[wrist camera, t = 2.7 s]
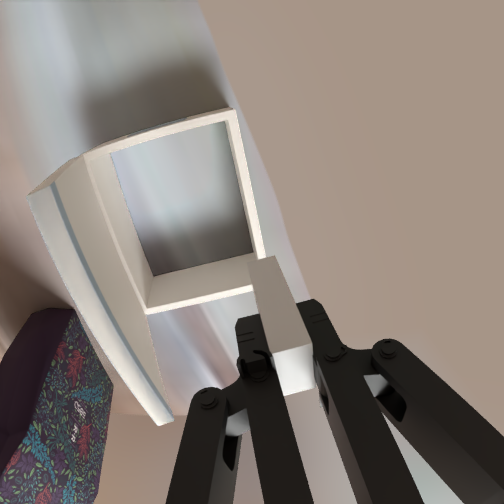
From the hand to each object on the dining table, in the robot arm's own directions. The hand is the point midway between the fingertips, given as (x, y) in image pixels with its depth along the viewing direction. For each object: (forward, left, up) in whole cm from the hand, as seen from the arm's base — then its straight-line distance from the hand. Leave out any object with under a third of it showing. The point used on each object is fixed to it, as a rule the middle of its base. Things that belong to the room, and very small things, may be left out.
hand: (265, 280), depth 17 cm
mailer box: (+3, -5, -17) cm, 18 cm away
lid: (+5, -9, -4) cm, 10 cm away
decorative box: (+28, -17, -17) cm, 36 cm away
